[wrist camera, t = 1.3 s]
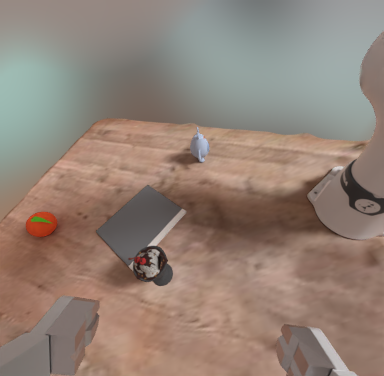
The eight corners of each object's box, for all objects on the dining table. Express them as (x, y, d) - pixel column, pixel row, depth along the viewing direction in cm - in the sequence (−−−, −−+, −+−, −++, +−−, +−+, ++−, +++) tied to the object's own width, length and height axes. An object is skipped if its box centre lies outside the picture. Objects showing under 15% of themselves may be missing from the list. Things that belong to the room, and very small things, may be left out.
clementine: (70, 219, 57) (53, 207, 51) (57, 241, 53) (38, 231, 47) (47, 218, 58) (29, 206, 53) (33, 239, 54) (12, 229, 49)
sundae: (142, 277, 45) (114, 258, 33) (162, 254, 47) (142, 229, 35) (162, 297, 42) (138, 285, 30) (182, 271, 44) (167, 251, 32)
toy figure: (210, 169, 62) (208, 140, 52) (191, 170, 63) (186, 142, 53) (209, 147, 68) (207, 118, 59) (192, 149, 69) (187, 120, 59)
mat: (148, 185, 61) (147, 184, 61) (186, 212, 53) (186, 211, 53) (96, 231, 53) (95, 231, 53) (133, 271, 46) (132, 270, 45)
